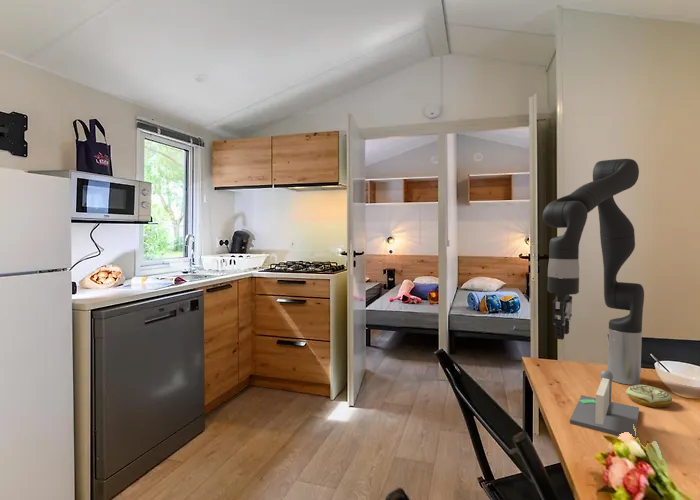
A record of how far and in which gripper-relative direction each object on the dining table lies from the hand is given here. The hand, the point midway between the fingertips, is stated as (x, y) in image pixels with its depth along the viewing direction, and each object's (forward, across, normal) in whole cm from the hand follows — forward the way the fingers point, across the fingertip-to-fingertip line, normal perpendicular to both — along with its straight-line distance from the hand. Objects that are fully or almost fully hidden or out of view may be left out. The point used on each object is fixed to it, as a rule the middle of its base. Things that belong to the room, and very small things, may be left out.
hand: (561, 336), depth 108 cm
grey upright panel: (+21, -3, +10) cm, 23 cm away
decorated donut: (+22, -26, +19) cm, 39 cm away
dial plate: (+22, -6, +10) cm, 25 cm away
